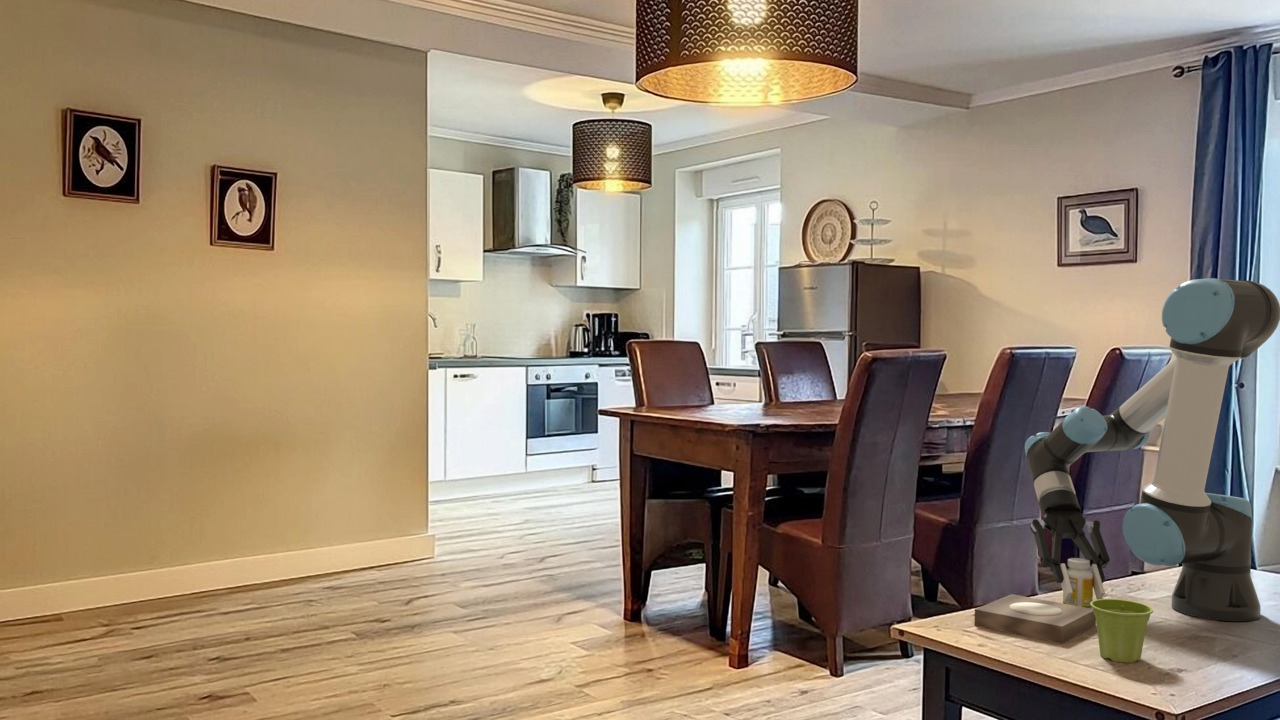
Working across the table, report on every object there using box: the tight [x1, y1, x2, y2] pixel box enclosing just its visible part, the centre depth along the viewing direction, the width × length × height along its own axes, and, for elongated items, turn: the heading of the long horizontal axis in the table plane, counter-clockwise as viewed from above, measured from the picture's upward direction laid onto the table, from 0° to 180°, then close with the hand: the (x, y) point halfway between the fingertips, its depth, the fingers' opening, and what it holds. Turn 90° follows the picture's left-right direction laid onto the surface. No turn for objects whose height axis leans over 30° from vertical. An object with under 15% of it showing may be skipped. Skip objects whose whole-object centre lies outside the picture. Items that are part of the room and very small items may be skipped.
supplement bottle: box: [1062, 557, 1094, 609], centre depth 201 cm, size 5×5×10 cm
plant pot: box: [1090, 598, 1154, 664], centre depth 170 cm, size 9×9×9 cm
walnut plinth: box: [974, 593, 1097, 645], centre depth 189 cm, size 16×16×3 cm
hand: (1085, 596), depth 198 cm, fingers closed on supplement bottle, 5 cm apart
